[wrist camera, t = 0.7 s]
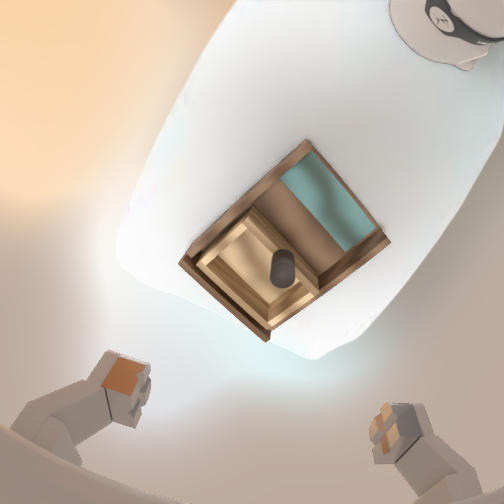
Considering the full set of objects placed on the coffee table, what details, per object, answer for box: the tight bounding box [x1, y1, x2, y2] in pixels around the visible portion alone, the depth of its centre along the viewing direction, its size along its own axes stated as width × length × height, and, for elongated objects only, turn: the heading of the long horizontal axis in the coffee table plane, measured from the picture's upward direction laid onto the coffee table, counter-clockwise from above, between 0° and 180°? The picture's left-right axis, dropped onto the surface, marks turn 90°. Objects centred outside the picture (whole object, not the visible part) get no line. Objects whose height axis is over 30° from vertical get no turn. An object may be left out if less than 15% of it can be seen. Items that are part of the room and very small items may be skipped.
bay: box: [178, 139, 391, 342], centre depth 45 cm, size 24×18×7 cm
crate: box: [196, 205, 320, 330], centre depth 44 cm, size 11×14×11 cm
